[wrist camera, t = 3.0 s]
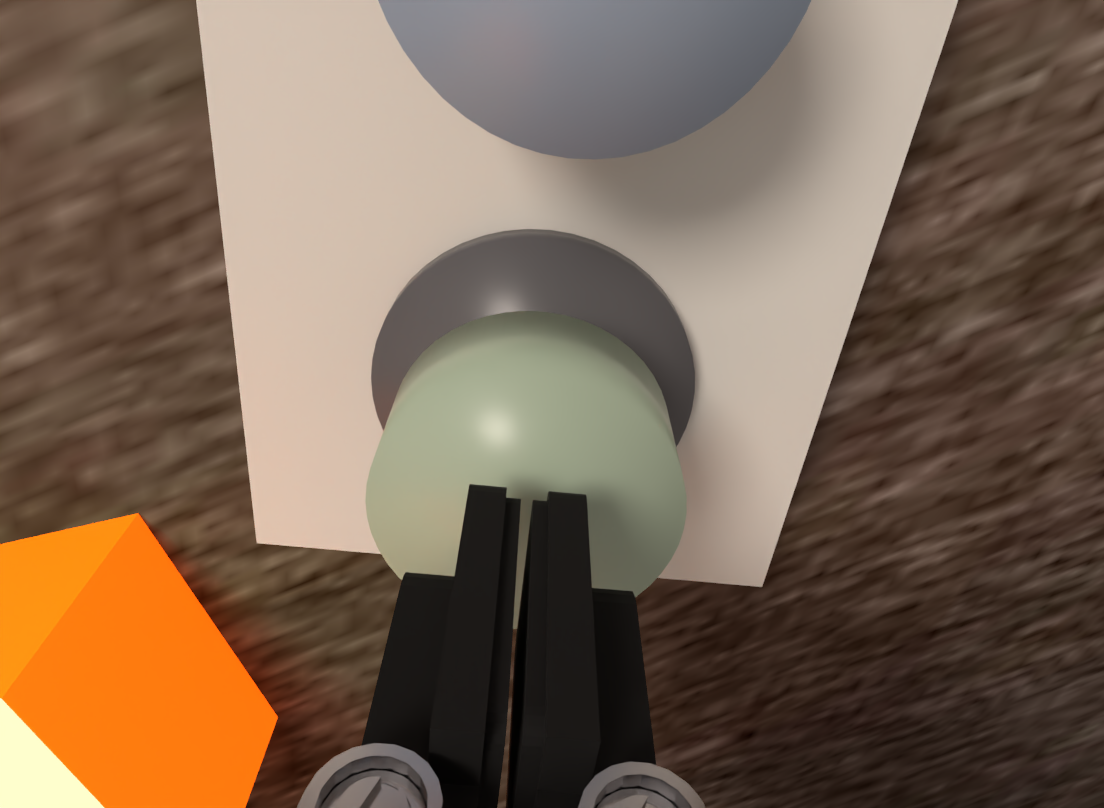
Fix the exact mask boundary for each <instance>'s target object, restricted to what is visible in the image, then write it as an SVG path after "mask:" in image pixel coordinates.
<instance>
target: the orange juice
mask: <svg viewBox="0 0 1104 808" xmlns="http://www.w3.org/2000/svg"><path fill="white" fill-rule="evenodd" d="M277 719H278V716H277V715H276V714H275V712H274V711H273V709H272V708H271V706H270V705H269V703H268V702H267V700H266V699H265V697H264V696H263V695H262V693H261V692H260V690H259V689H258V687H257V686H256V684H255V683H254V681H253V680H252V679H251V677H250V676H249V674H248V673H247V671H246V670H245V668H244V667H243V665H242V664H241V662H240V661H239V660H238V658H237V657H236V655H235V654H234V652H233V651H232V649H231V648H230V646H229V645H228V643H227V642H226V641H225V639H224V638H223V636H222V635H221V633H220V632H219V630H218V629H217V627H216V626H215V625H214V623H213V622H212V620H211V619H210V617H209V616H208V614H207V613H206V611H205V610H204V608H203V607H202V606H201V604H200V603H199V601H198V600H197V598H196V597H195V595H194V594H193V592H192V591H191V589H190V588H189V587H188V585H187V584H186V582H185V581H184V579H183V578H182V576H181V575H180V573H179V572H178V571H177V569H176V568H175V566H174V565H173V563H172V562H171V560H170V559H169V557H168V556H167V554H166V553H165V552H164V550H163V549H162V547H161V546H160V544H159V543H158V541H157V540H156V538H155V537H154V535H153V534H152V533H151V531H150V530H149V528H148V527H147V525H146V524H145V522H144V521H143V519H142V518H141V517H140V515H139V514H138V513H137V514H133V515H128V516H124V517H119V518H115V519H110V520H106V521H102V522H97V523H93V524H88V525H84V526H79V527H75V528H70V529H66V530H62V531H57V532H53V533H48V534H44V535H39V536H35V537H30V538H26V539H22V540H17V541H13V542H8V543H4V544H0V808H245V807H246V804H247V801H248V798H249V796H250V793H251V790H252V787H253V785H254V782H255V779H256V776H257V774H258V771H259V768H260V765H261V763H262V760H263V757H264V754H265V752H266V749H267V746H268V743H269V741H270V738H271V735H272V732H273V730H274V727H275V724H276V721H277Z"/></svg>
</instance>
